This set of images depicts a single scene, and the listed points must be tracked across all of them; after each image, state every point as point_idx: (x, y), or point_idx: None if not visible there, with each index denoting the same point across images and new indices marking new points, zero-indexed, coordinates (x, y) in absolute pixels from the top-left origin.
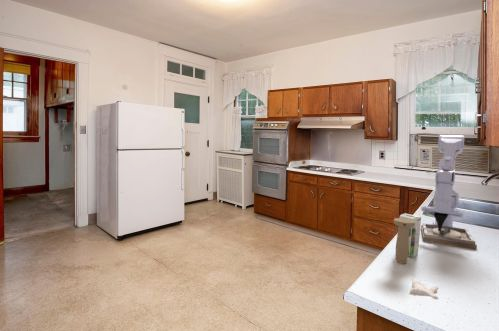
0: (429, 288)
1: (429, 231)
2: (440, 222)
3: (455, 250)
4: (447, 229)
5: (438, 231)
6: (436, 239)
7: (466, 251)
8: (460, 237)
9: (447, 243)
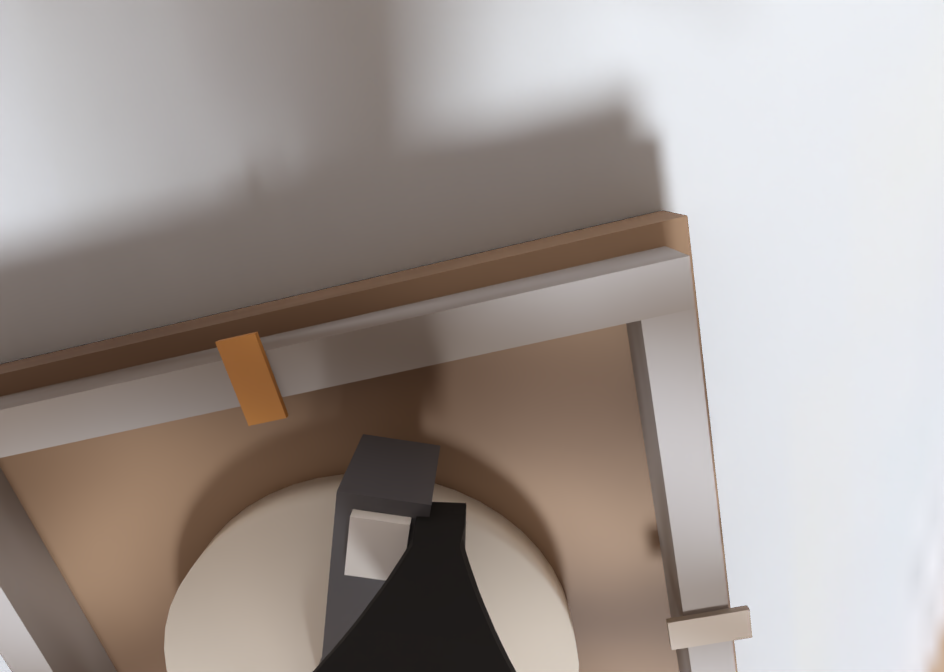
0: None
1: (617, 616)
2: (393, 665)
3: (137, 65)
4: None
5: None
6: (459, 265)
7: (9, 153)
8: None
9: (302, 298)
